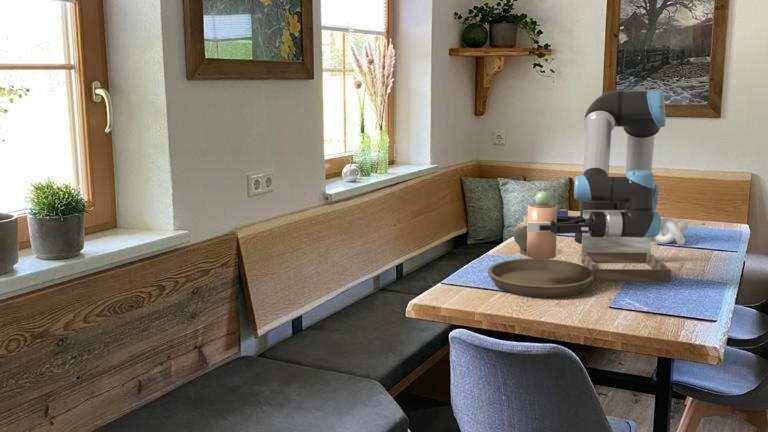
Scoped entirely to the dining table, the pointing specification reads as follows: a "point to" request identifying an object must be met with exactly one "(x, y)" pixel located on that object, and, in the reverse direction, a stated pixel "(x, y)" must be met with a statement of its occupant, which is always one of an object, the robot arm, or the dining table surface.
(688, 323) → the dining table surface
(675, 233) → the white knot sculpture
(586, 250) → the cold frame
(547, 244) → the pink canister
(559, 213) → the purple square panel
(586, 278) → the plant saucer
